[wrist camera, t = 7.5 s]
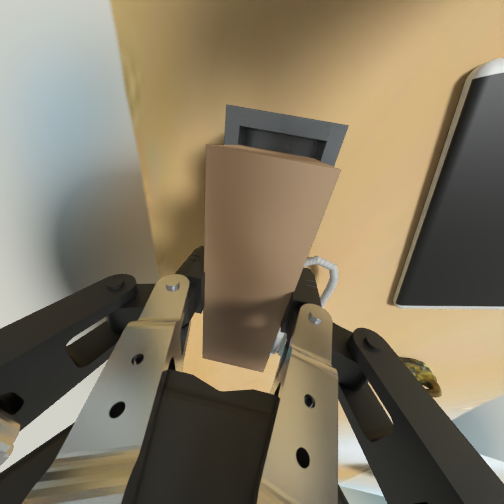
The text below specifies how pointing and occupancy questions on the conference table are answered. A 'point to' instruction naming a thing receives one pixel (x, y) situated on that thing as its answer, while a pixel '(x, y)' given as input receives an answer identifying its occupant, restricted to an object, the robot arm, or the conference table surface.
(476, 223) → the smartphone
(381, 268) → the conference table surface
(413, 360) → the seal
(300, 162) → the brown rectangular block
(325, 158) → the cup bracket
